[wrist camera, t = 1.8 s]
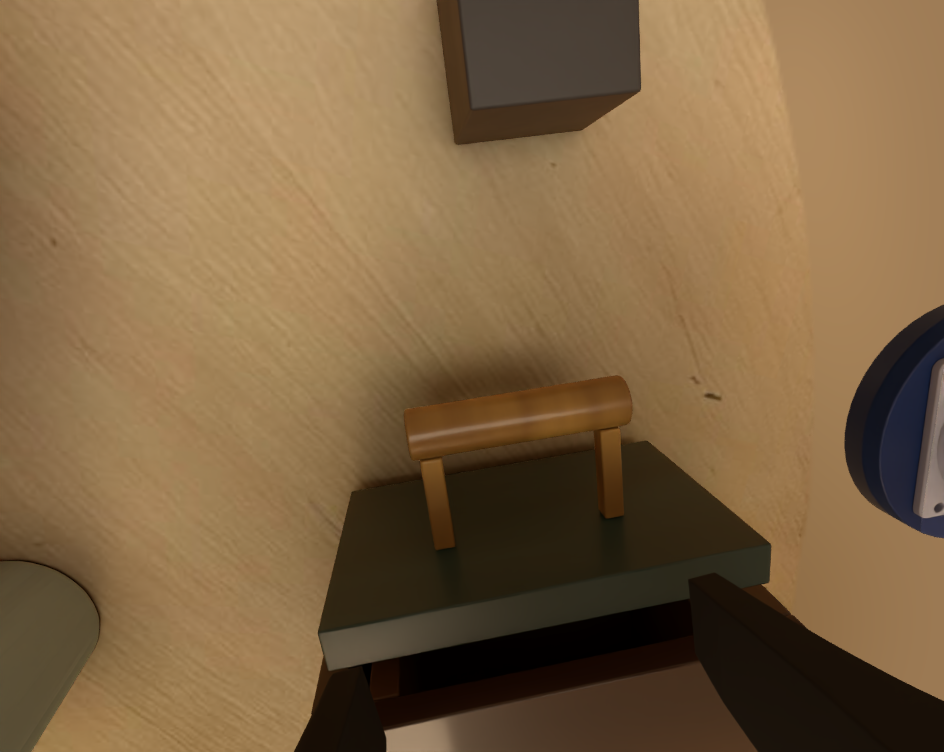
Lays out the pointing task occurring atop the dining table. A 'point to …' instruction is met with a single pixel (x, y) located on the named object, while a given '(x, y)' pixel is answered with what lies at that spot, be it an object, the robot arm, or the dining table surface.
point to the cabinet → (573, 706)
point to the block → (537, 64)
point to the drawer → (524, 546)
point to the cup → (39, 648)
